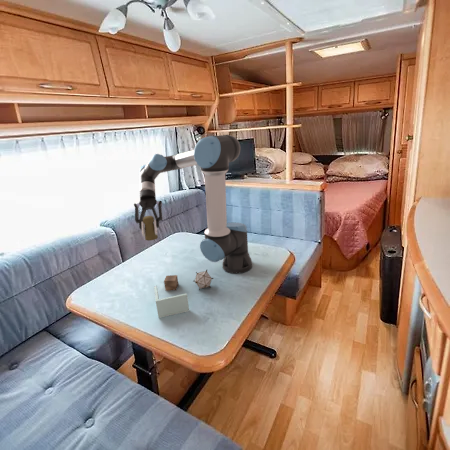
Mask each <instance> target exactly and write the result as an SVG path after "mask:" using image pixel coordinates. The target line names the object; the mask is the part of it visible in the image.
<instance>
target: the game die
mask: <svg viewBox="0 0 450 450" xmlns="http://www.w3.org/2000/svg"><path fill="white" fill-rule="evenodd" d="M195 273H196V276H195V278H194V280H193V281H192V282H194V283H195V284H196V285H197V287H198V288H199V289H198V291H200V290H201V289H205V288H210V289H211V286H210V285H211V282H212V280H214V277H211V274H209V273H208V269H206V270H205V271H200V272H198V271H196V272H195Z"/></svg>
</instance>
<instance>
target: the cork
mask: <svg viewBox="0 0 450 450" xmlns="http://www.w3.org/2000/svg"><path fill="white" fill-rule="evenodd" d="M154 220H155V216H154V215H145V216H144V218H143V223H144V231H145V236H144V237H145V238H144V240H145V241H148V242H149V241H155V240H157V239H158V234H157V235H156V234H155V227H154Z"/></svg>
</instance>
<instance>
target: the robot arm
mask: <svg viewBox="0 0 450 450" xmlns="http://www.w3.org/2000/svg"><path fill="white" fill-rule="evenodd" d="M240 153H241V144H240V142H239V140H238V139H237V138H236V137H235V136H234V135H230V134H221V135H220V134H219V135H208V136H205V137H201V138H200V139H199V140H198V141H197V142H196V144H195V146H194V148H193V149H191V150H188V151H183V152H180V153H176V154H173V155H168V156H166V155H165V156H164V155H163V154H159V153H155V154H153V155H152V157H151V158H150V159H149V160H148V162H147V164H143V165H141V166H140V167H139V170H138V176H139V177H138V178H139V179H138V181H139V202H138V203H135V202H134V204H133V206H134V221H135V223H136V224H138V226H139V231H141V235H142V237H145V224H144V223H143V218H144V217H145V216H146V213H147V211H148V210H151V211H152V214H153V217H154V222H153V223H154V227H155V234H156V235H157V236H158V229H159V228H160V222H161V221H163V220H164V218H163V210H162V207H163V202H162V200H157V199H156V197H157V196H156V184H155V183H156V182H155V180H156V179H157V178H158V177H159V175H160V174H161V173H168V172H173V171H176V170H177V171H178V170H182V169H185V168H189V167H193V166H198V167H199V168H200V172H201V173H202V174H203V175H204V187H205V207H206V220H207V221H206V224H207V228H205V230H204V239H202V240H201V241H200V243H199V249H200V252H201V254H202V255H203V257H204V258H205V259H207V260H208V261H210V262H212V263H217V262H220V261H222V270H224V272H226V273H230V274H243V273H247V272H248V271H251V270H252V268H253V261H252V258H251V256H250V253H249V245H248V244H249V243H248V229H247V228H248V227H247V225H246V224H245V223H242V222H227V221H228V220H227V217H228V216H227V194H226V193H227V191H226V190H227V189H226V188H227V187H226V174H227V173H228V171H229V170H230V169H229V168H230V167H229V164H230V163H231V162H232V163H233V162H235V161H236V159H238V158H239V156H240ZM156 206H157V207H158V214H157V212H156V210H155V207H156ZM140 207H141V213H140V212H139V208H140ZM139 213H140V214H139ZM158 216H159V217H158Z"/></svg>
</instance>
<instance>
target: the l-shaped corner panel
mask: <svg viewBox="0 0 450 450" xmlns="http://www.w3.org/2000/svg"><path fill="white" fill-rule="evenodd" d="M153 289H154V296H155V297H154V298H155V299H154V300H155V304H156V310H157V317H158V319H161V318H164V317H165V318H166V317H168V316H173V315H177V314H182V313H185V312H190V304H189V298H188V293H181V294H177V295H171V296H169V297H163V298H160V297H159V291H158V286H157V285H154V286H153Z"/></svg>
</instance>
